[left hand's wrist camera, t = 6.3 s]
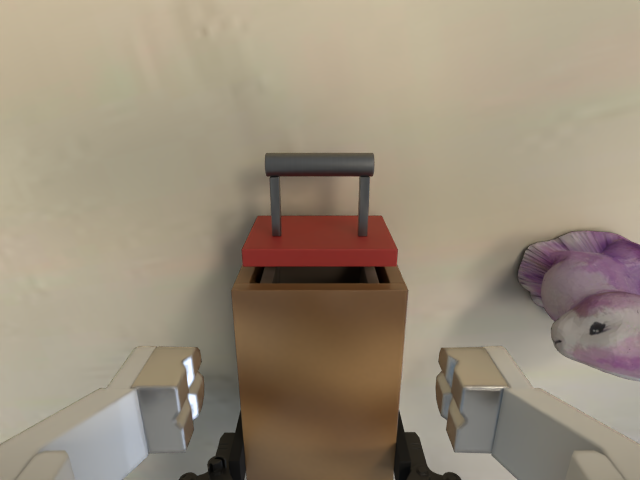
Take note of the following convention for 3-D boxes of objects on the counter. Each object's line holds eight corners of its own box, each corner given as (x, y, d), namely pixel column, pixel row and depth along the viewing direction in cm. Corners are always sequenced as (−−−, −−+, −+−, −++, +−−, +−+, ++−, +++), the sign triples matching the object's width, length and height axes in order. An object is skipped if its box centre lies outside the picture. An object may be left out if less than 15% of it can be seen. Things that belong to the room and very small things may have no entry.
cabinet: (253, 238, 34) (230, 290, 26) (386, 238, 34) (408, 290, 26) (263, 408, 40) (247, 495, 32) (376, 408, 40) (392, 495, 32)
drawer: (253, 143, 31) (235, 160, 24) (385, 143, 31) (404, 159, 24) (266, 384, 38) (255, 447, 31) (373, 384, 38) (384, 447, 31)
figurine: (486, 266, 35) (600, 390, 21) (604, 195, 33) (819, 280, 19) (537, 345, 37) (668, 503, 23) (648, 284, 35) (866, 417, 21)
